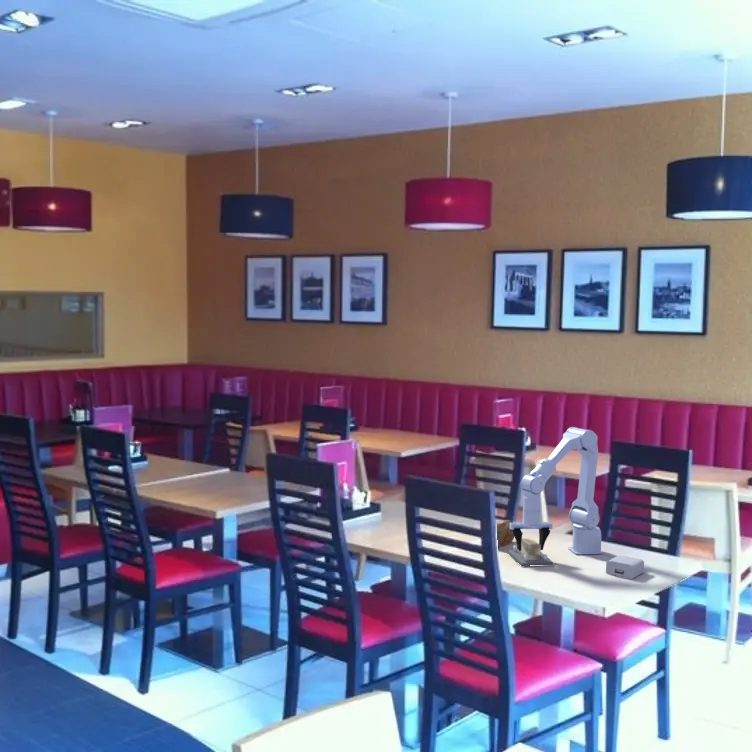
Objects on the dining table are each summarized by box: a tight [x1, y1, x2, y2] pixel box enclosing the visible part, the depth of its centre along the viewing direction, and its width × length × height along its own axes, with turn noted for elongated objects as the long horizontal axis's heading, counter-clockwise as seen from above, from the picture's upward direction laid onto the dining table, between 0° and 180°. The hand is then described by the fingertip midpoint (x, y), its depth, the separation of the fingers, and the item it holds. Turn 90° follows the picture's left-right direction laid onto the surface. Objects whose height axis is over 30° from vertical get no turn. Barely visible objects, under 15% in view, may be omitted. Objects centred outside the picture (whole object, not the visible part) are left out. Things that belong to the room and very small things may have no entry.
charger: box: [605, 555, 645, 580], centre depth 304 cm, size 5×9×15 cm
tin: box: [496, 519, 515, 548], centre depth 334 cm, size 15×3×8 cm, turn 143°
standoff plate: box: [506, 545, 554, 567], centre depth 315 cm, size 11×16×3 cm
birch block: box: [520, 537, 542, 560], centre depth 315 cm, size 4×9×5 cm, turn 9°
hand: (530, 549), depth 315 cm, fingers open, 7 cm apart
